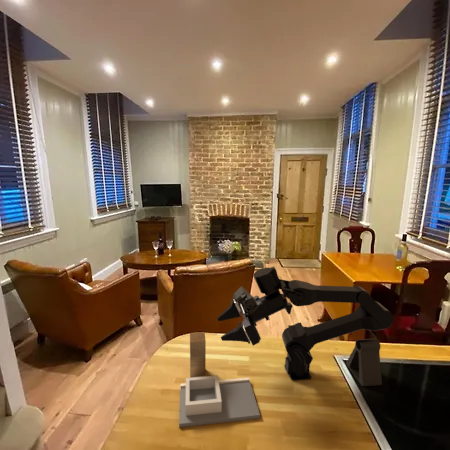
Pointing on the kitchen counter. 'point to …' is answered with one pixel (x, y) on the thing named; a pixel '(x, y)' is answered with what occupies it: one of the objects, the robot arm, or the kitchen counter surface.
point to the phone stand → (366, 362)
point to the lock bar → (197, 354)
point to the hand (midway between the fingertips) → (219, 328)
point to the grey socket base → (216, 401)
